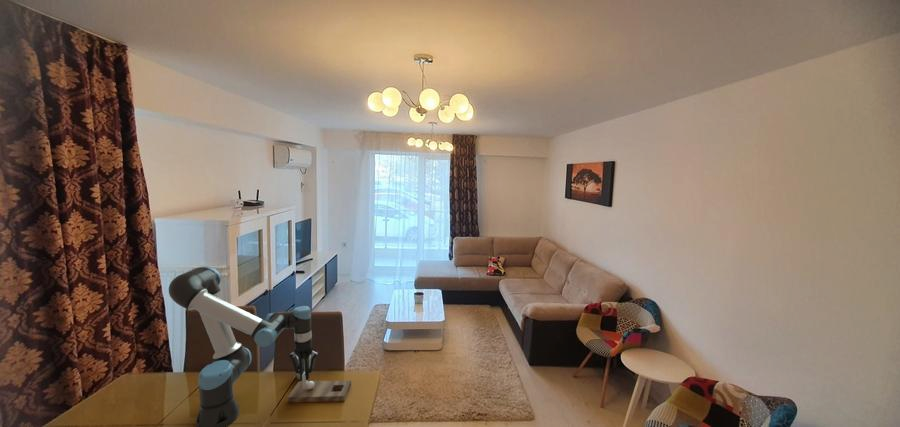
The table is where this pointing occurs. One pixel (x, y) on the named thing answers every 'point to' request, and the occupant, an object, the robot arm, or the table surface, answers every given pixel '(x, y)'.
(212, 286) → the robot arm
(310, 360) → the coffee cup
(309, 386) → the ball
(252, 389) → the table surface
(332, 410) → the table surface
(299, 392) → the deck
